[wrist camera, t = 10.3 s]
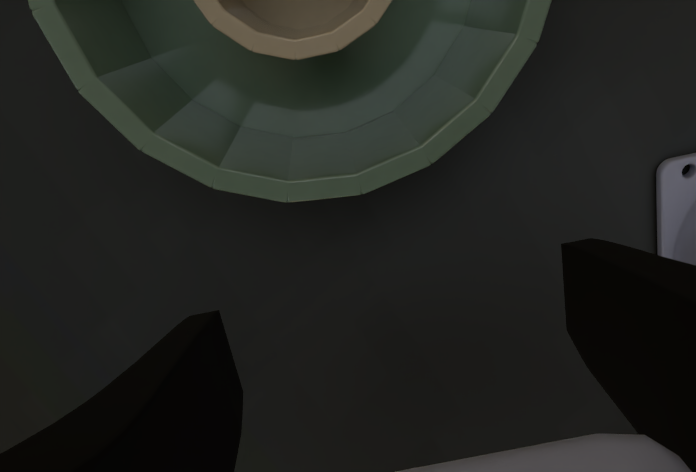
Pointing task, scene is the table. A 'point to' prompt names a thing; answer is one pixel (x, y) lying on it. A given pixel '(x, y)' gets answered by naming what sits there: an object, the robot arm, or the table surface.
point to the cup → (293, 24)
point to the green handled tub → (293, 90)
